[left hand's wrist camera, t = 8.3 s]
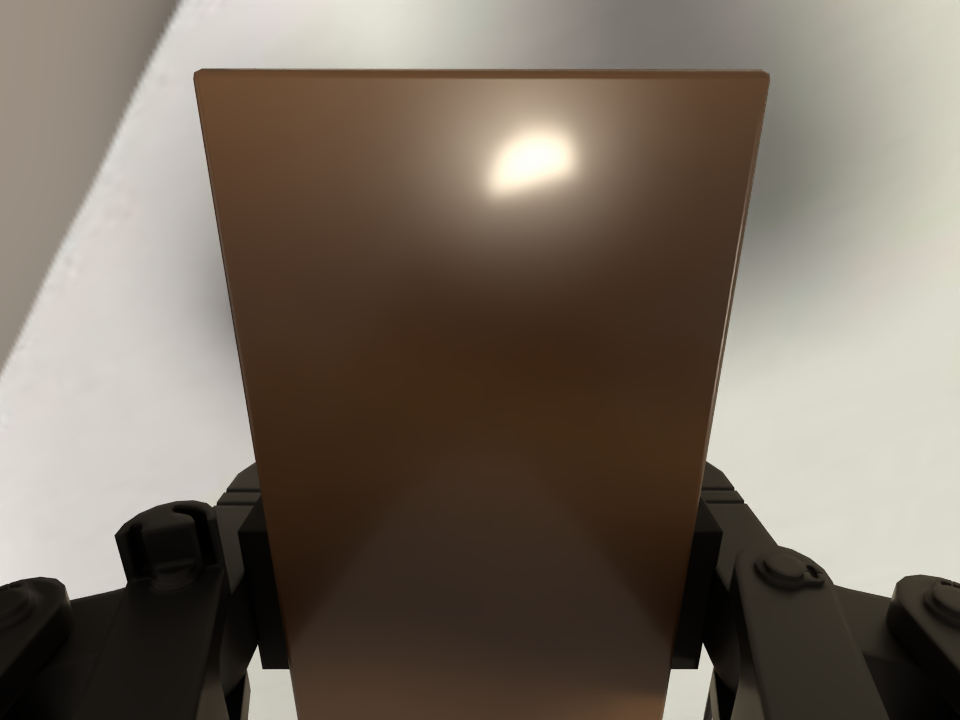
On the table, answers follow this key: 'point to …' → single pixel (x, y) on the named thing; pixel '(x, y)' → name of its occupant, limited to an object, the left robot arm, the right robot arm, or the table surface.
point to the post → (480, 369)
